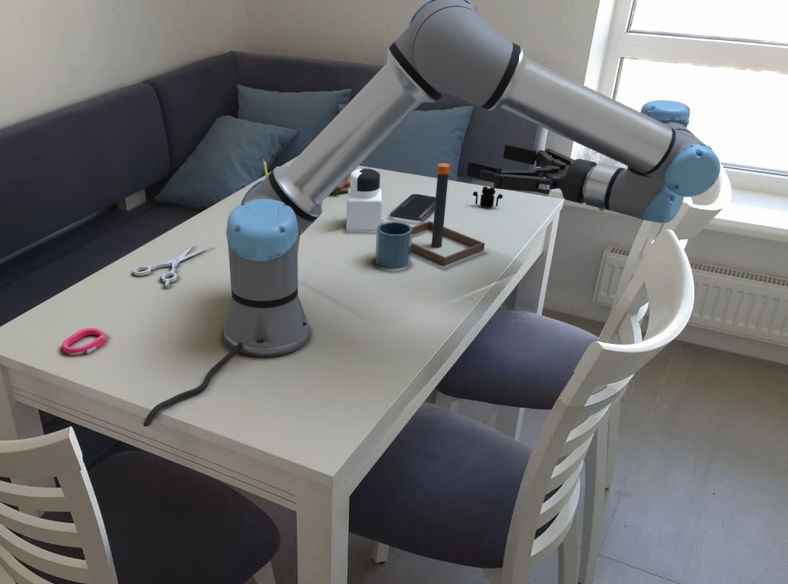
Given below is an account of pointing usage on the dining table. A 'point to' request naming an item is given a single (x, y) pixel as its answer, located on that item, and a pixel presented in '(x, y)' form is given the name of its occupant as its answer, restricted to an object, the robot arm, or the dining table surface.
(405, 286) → the dining table surface
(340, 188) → the toy sandwich meal
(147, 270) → the scissors
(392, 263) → the pen cup
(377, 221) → the container
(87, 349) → the fitness band
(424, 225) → the tray
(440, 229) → the marker
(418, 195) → the phone
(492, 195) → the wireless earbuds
